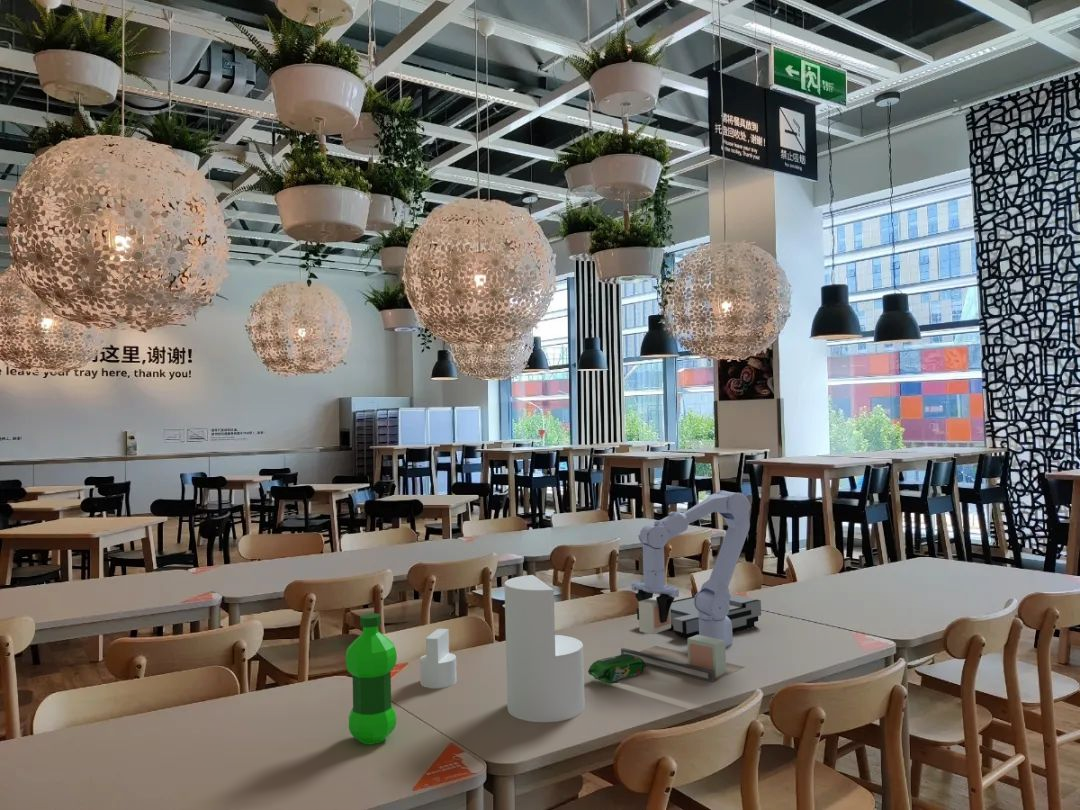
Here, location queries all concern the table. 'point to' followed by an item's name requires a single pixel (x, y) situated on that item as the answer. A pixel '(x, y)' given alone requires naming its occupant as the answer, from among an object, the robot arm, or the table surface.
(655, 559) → the robot arm
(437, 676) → the white stepped half-round block
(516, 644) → the white stepped round block
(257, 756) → the table surface
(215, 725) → the table surface
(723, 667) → the sage carton
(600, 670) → the snack package
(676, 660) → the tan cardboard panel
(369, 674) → the plastic bottle
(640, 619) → the cream carton
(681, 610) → the game console
